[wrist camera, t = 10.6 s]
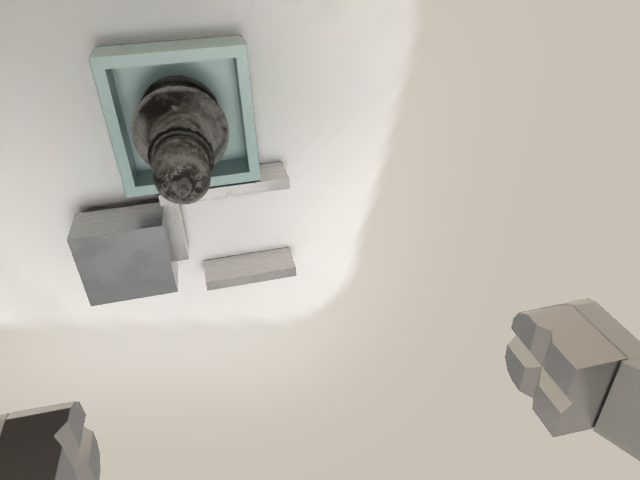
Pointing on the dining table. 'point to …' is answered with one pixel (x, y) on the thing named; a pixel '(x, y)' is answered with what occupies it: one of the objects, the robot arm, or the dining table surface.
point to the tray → (173, 60)
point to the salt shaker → (180, 136)
